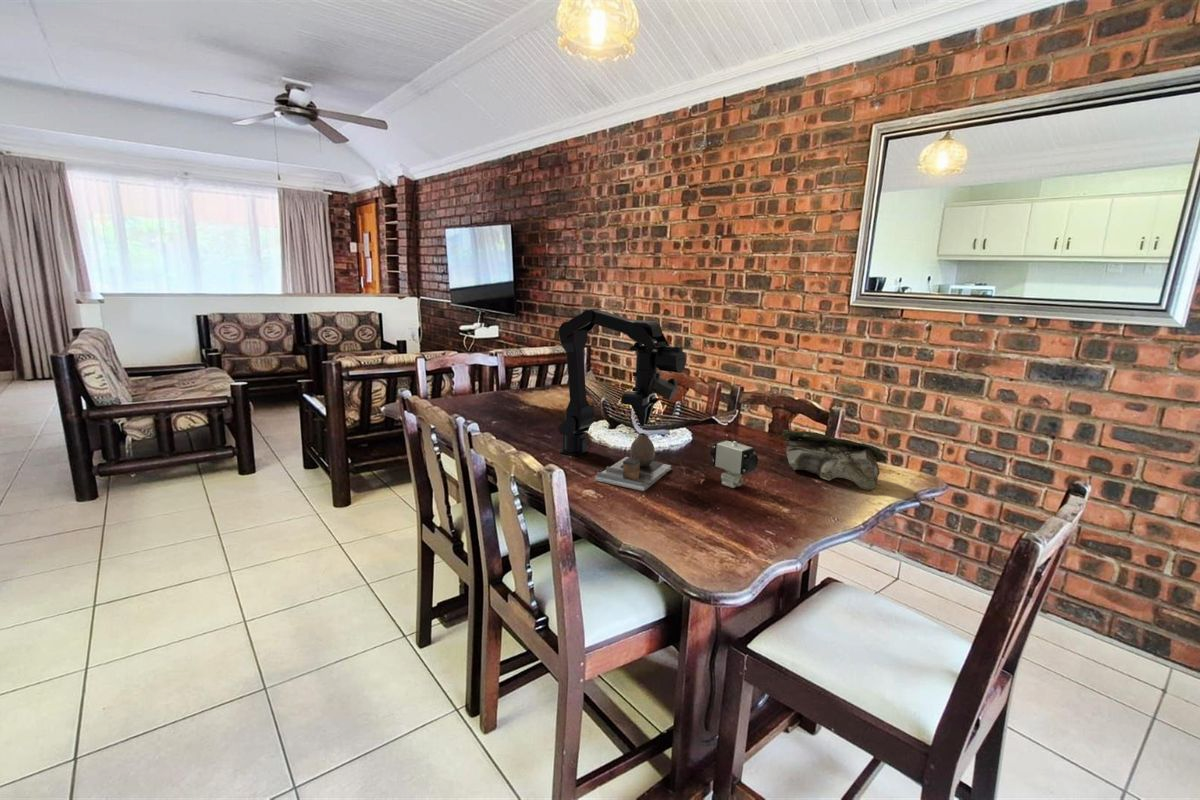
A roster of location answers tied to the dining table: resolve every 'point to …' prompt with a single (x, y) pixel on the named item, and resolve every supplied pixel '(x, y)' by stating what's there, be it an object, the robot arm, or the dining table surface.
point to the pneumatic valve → (733, 461)
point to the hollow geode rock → (834, 457)
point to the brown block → (631, 468)
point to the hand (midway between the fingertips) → (643, 424)
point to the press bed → (646, 479)
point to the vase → (642, 449)
